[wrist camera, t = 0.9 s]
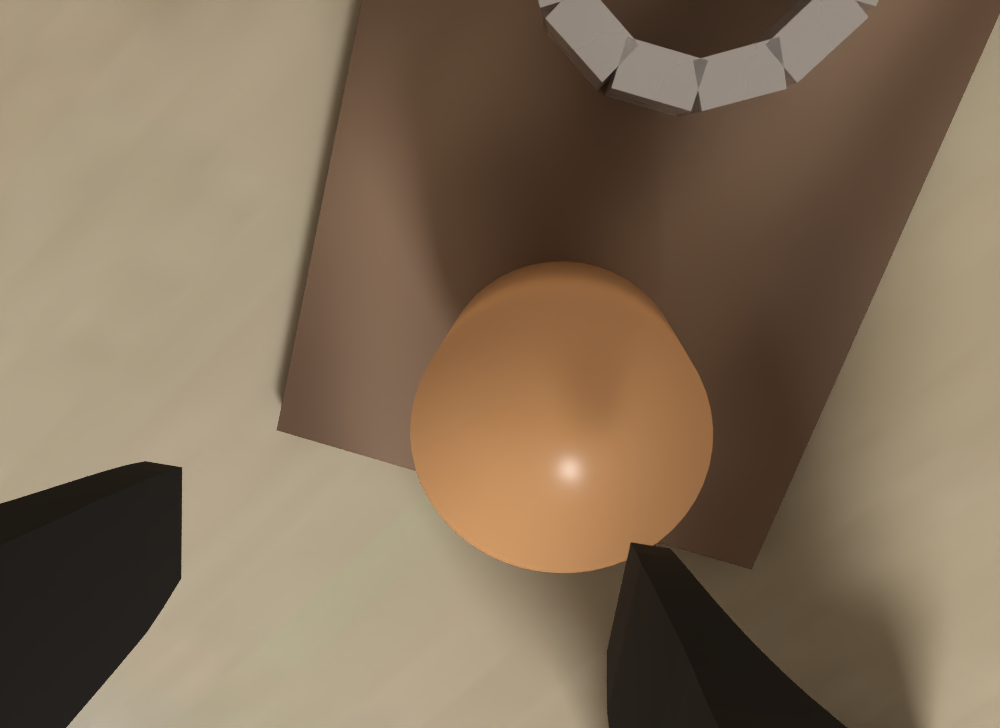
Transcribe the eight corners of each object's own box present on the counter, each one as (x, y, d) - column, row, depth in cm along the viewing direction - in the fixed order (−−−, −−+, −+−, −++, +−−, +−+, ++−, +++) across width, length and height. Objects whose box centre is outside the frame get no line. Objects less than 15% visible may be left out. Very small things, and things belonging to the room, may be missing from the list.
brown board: (1093, -240, 15) (1121, -260, 15) (744, 554, 21) (751, 569, 21) (457, -425, 15) (452, -455, 15) (286, 419, 21) (276, 430, 21)
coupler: (699, 282, 18) (760, 343, 13) (628, 475, 20) (653, 606, 14) (486, 220, 18) (451, 253, 13) (433, 417, 20) (380, 526, 14)
